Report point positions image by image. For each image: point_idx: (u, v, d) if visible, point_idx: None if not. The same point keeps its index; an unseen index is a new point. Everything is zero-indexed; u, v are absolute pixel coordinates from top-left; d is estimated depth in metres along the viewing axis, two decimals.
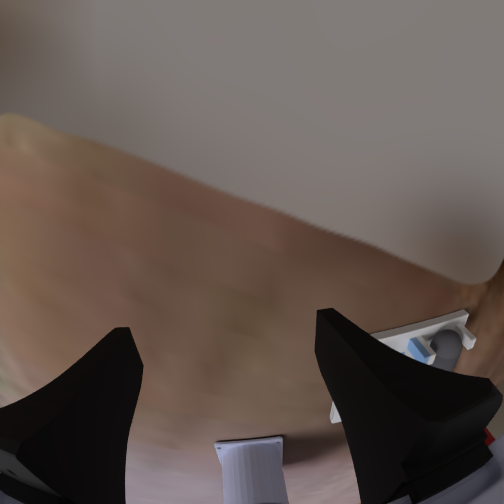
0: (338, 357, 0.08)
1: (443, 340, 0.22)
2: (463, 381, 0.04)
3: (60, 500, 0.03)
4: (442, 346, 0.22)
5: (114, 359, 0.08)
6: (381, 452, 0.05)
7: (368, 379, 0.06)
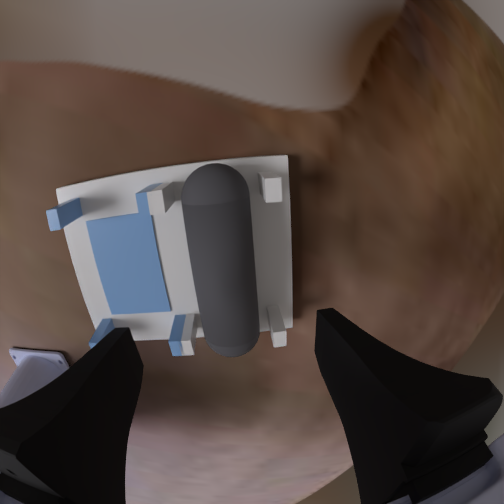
0: (338, 357, 0.08)
1: (191, 174, 0.14)
2: (463, 381, 0.04)
3: (60, 500, 0.03)
4: (186, 183, 0.14)
5: (114, 359, 0.08)
6: (381, 452, 0.05)
7: (368, 379, 0.06)
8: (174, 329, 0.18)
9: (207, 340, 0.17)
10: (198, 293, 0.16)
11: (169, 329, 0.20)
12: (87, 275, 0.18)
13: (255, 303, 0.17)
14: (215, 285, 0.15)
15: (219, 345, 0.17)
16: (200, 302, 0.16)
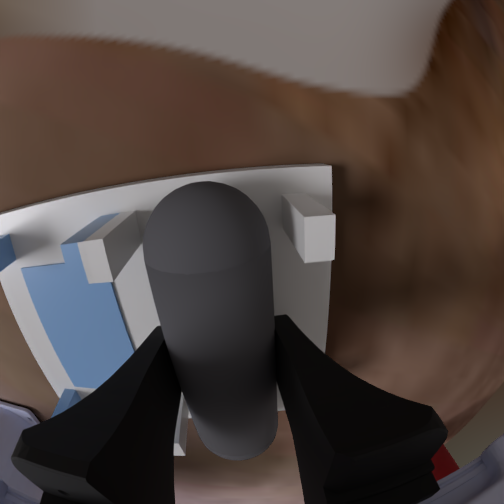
0: (284, 366, 0.08)
1: (159, 204, 0.07)
2: (400, 407, 0.04)
3: None
4: (149, 222, 0.07)
5: (162, 359, 0.08)
6: (312, 471, 0.05)
7: (301, 393, 0.06)
8: None
9: (202, 441, 0.10)
10: (184, 395, 0.09)
11: None
12: (36, 337, 0.11)
13: (274, 403, 0.10)
14: (210, 395, 0.08)
15: (220, 452, 0.10)
16: (189, 406, 0.09)
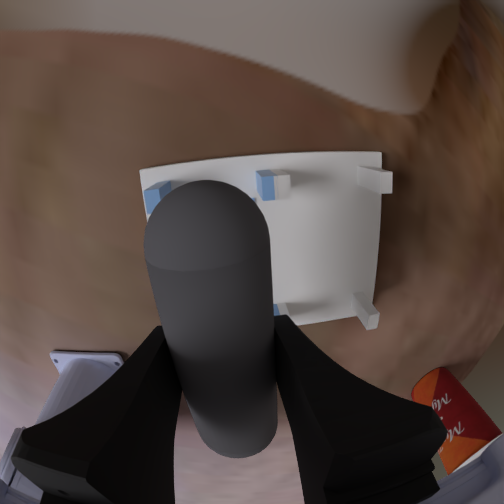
0: (284, 366, 0.08)
1: (160, 202, 0.08)
2: (400, 407, 0.04)
3: None
4: (149, 220, 0.07)
5: (162, 359, 0.08)
6: (312, 471, 0.05)
7: (301, 393, 0.06)
8: None
9: None
10: (183, 391, 0.09)
11: None
12: None
13: (273, 403, 0.10)
14: (207, 392, 0.08)
15: (218, 449, 0.10)
16: (188, 402, 0.09)
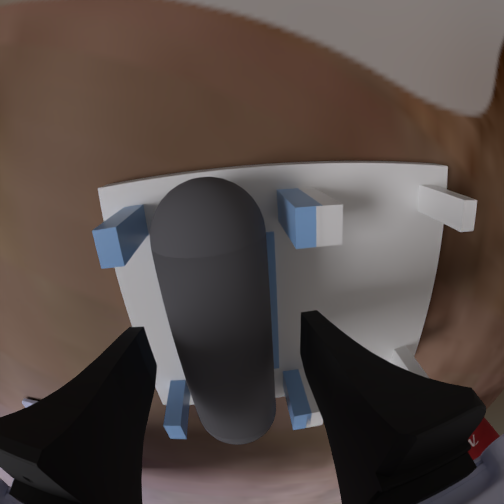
0: (320, 360, 0.08)
1: (164, 197, 0.08)
2: (444, 390, 0.04)
3: None
4: (155, 213, 0.08)
5: (130, 359, 0.08)
6: (358, 459, 0.05)
7: (346, 384, 0.06)
8: (293, 395, 0.12)
9: (203, 425, 0.11)
10: (186, 376, 0.10)
11: None
12: (151, 325, 0.12)
13: (271, 388, 0.11)
14: (208, 375, 0.09)
15: (219, 435, 0.11)
16: (190, 387, 0.10)
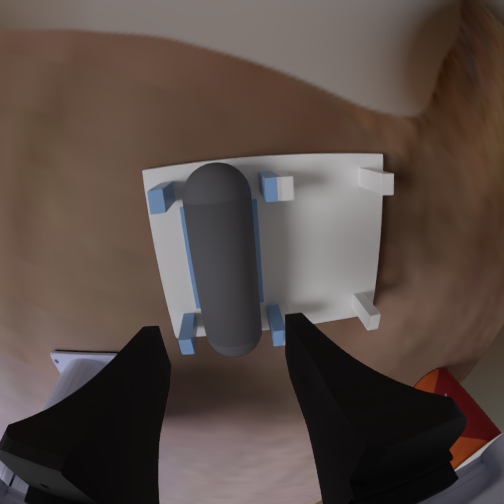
0: (301, 364, 0.08)
1: (192, 173, 0.14)
2: (422, 399, 0.04)
3: None
4: (187, 182, 0.14)
5: (147, 359, 0.08)
6: (335, 466, 0.05)
7: (323, 389, 0.06)
8: (273, 319, 0.18)
9: (209, 340, 0.17)
10: (200, 293, 0.16)
11: None
12: (173, 266, 0.18)
13: (257, 303, 0.17)
14: (216, 284, 0.15)
15: (221, 345, 0.17)
16: (202, 302, 0.16)
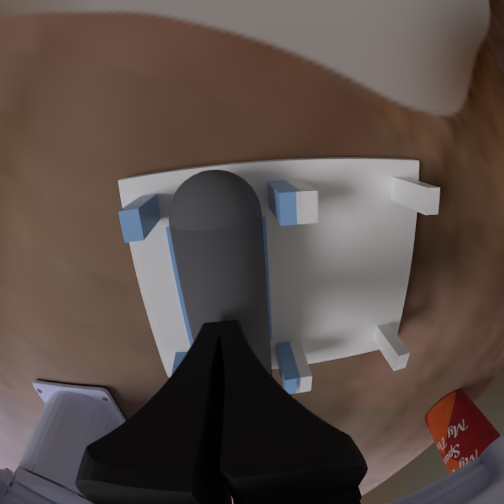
0: None
1: (181, 185, 0.10)
2: (313, 430, 0.04)
3: None
4: (175, 198, 0.10)
5: (217, 355, 0.08)
6: None
7: None
8: (284, 362, 0.14)
9: None
10: None
11: None
12: (160, 299, 0.14)
13: (268, 348, 0.13)
14: None
15: None
16: None
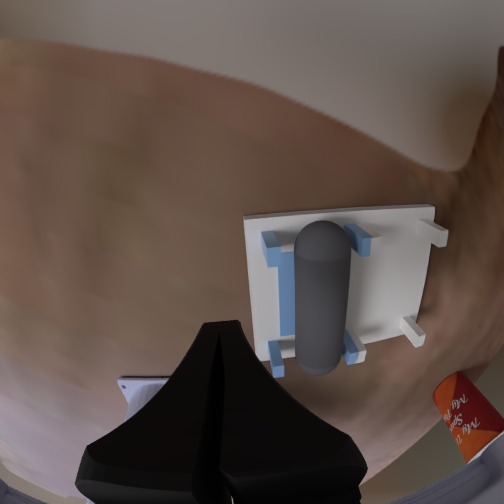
0: None
1: (307, 231, 0.17)
2: (313, 430, 0.04)
3: None
4: (306, 240, 0.17)
5: (218, 356, 0.08)
6: None
7: None
8: (346, 343, 0.21)
9: (303, 365, 0.20)
10: (305, 329, 0.18)
11: None
12: (264, 302, 0.21)
13: (344, 330, 0.20)
14: (325, 322, 0.18)
15: (316, 367, 0.19)
16: (306, 336, 0.19)
